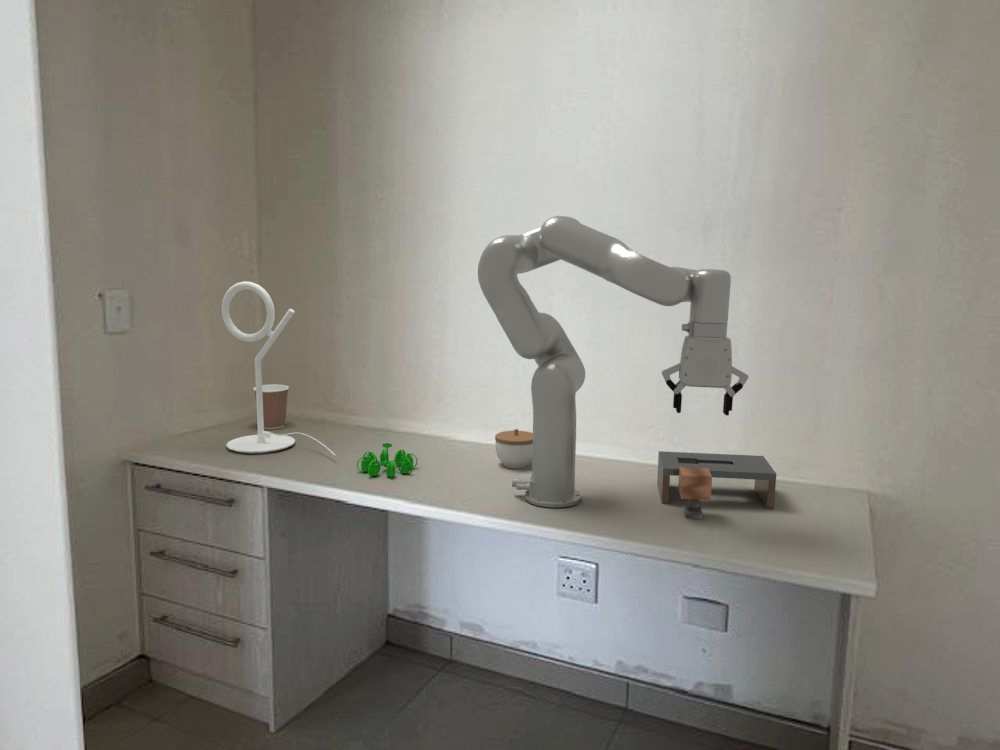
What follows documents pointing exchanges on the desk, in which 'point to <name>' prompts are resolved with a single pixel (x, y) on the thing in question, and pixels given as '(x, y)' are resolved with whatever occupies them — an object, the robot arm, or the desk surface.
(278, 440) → the desk lamp
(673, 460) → the keyhole stand
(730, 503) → the desk surface
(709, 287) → the robot arm
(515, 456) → the lidded jar
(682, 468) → the headed peg
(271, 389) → the coffee cup
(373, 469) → the chandelier
